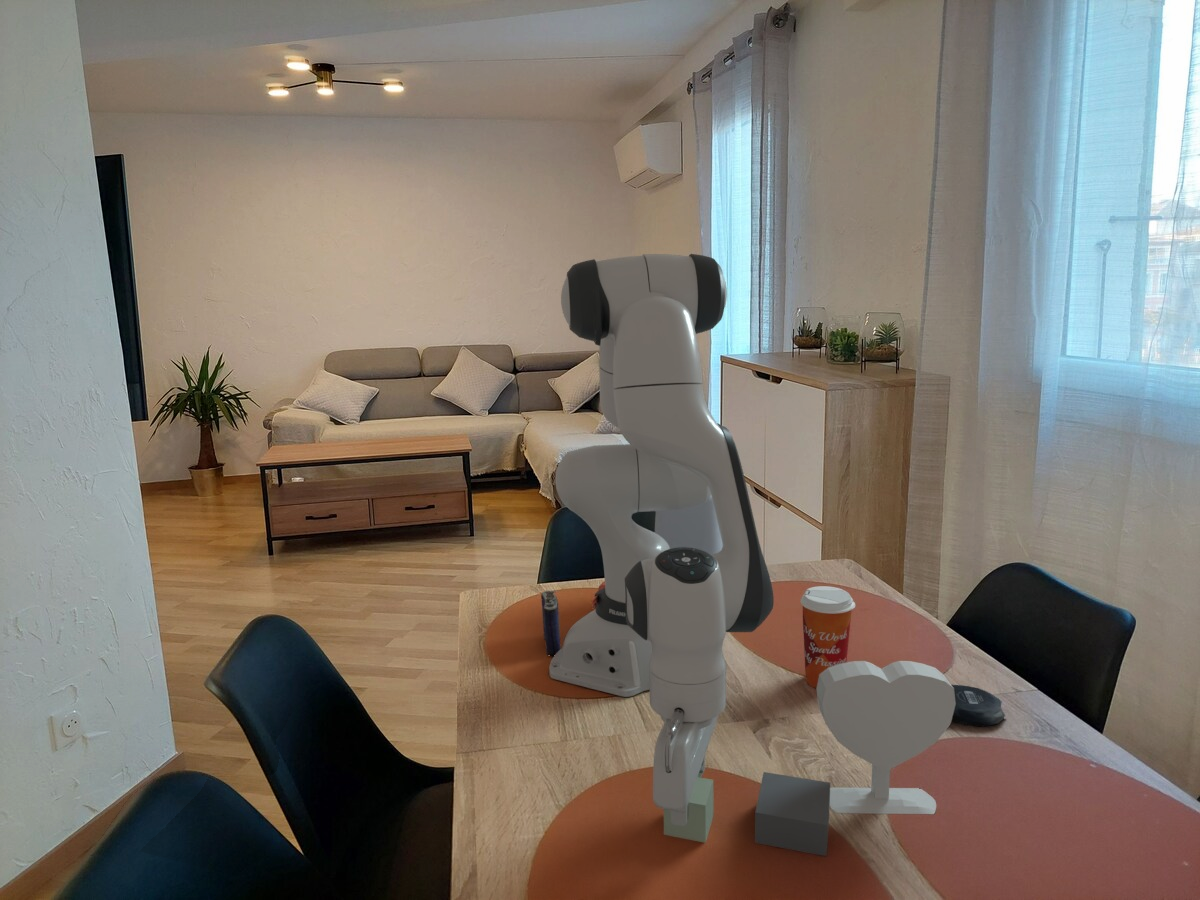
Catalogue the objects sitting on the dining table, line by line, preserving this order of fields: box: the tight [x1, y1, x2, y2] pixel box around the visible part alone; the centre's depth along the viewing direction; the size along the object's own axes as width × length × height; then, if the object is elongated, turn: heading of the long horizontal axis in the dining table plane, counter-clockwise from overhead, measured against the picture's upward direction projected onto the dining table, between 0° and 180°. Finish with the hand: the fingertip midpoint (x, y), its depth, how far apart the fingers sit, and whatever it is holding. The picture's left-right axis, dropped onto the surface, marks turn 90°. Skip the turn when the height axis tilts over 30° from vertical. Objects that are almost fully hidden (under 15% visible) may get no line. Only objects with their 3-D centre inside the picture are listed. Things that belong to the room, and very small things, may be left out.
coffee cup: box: [800, 585, 856, 689], centre depth 126 cm, size 8×8×15 cm
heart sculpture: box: [815, 660, 956, 815], centre depth 97 cm, size 16×5×18 cm, turn 87°
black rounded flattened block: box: [950, 683, 1006, 727], centre depth 118 cm, size 9×6×15 cm
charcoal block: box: [754, 771, 831, 857], centre depth 94 cm, size 8×8×4 cm
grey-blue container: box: [654, 495, 723, 554], centre depth 157 cm, size 15×15×28 cm
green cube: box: [663, 777, 714, 843], centre depth 95 cm, size 5×5×5 cm
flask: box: [540, 589, 562, 657], centre depth 143 cm, size 9×3×11 cm, turn 8°
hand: (688, 796), depth 94 cm, fingers open, 8 cm apart
